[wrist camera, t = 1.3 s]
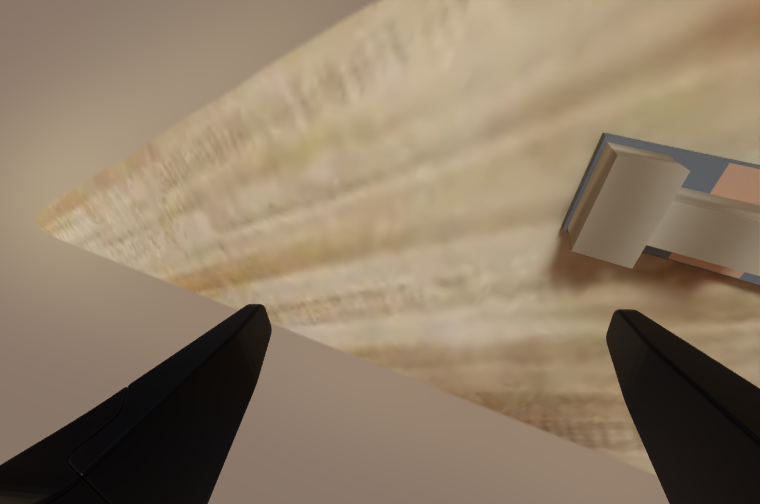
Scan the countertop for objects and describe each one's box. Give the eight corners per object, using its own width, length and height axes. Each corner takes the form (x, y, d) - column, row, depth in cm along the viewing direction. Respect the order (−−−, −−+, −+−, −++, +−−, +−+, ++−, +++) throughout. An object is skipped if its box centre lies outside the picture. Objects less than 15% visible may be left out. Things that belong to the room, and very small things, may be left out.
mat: (959, 207, 14) (980, 214, 13) (857, 305, 16) (870, 316, 16) (603, 132, 17) (605, 135, 17) (562, 224, 20) (562, 230, 19)
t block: (790, 181, 15) (839, 204, 12) (723, 269, 17) (754, 304, 15) (606, 141, 17) (617, 155, 14) (567, 226, 19) (571, 251, 16)
